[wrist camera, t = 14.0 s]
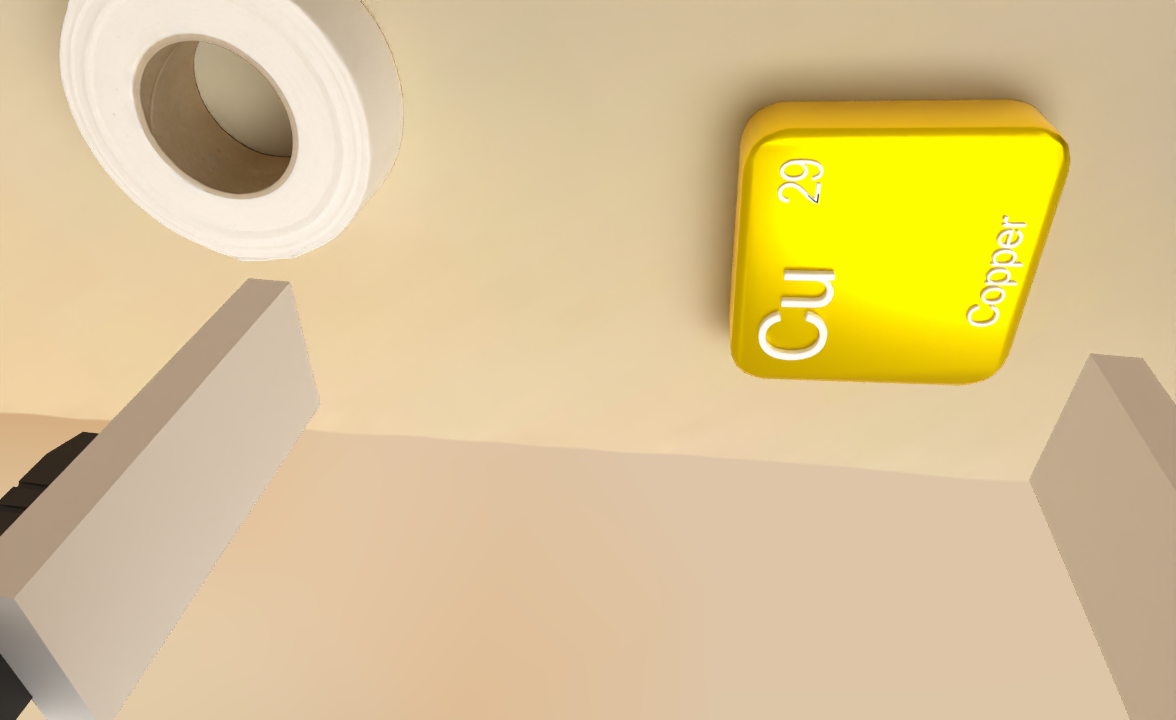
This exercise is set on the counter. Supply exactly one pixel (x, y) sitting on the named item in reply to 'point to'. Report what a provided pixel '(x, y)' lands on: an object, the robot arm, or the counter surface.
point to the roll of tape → (202, 148)
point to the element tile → (889, 237)
